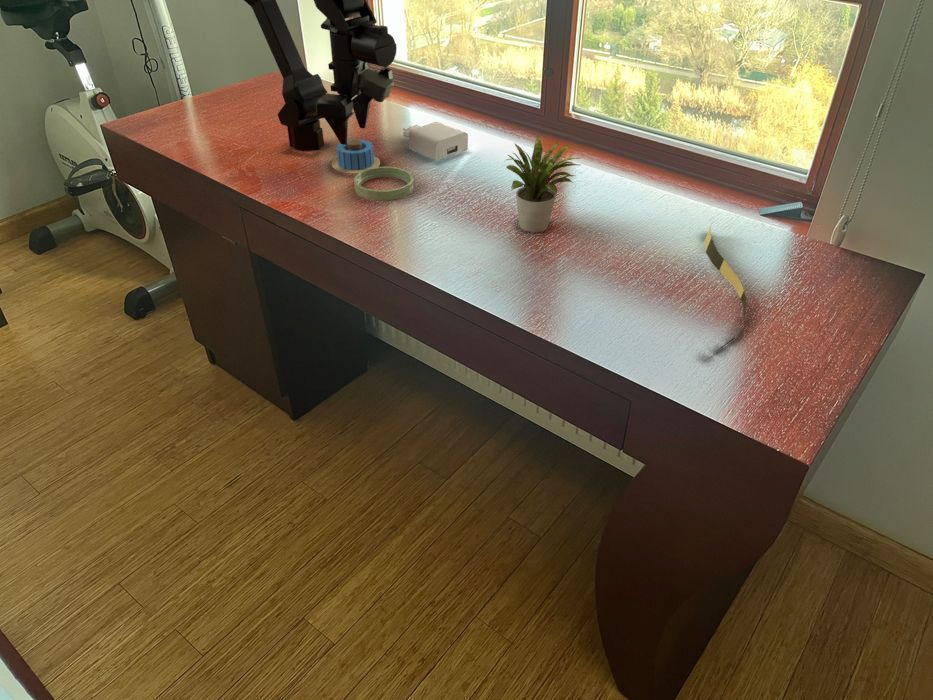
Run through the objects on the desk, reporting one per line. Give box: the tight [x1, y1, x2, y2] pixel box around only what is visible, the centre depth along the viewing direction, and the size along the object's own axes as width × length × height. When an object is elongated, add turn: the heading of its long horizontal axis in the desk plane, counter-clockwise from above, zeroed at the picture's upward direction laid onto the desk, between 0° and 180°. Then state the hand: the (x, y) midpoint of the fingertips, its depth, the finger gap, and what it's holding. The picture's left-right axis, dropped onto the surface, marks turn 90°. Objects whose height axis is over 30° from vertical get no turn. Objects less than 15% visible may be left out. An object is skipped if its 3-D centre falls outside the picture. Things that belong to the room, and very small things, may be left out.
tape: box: [703, 220, 748, 358], centre depth 116 cm, size 6×38×4 cm, turn 166°
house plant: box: [503, 134, 581, 233], centre depth 129 cm, size 14×14×16 cm
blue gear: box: [335, 139, 375, 170], centre depth 153 cm, size 7×7×4 cm
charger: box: [402, 121, 469, 162], centre depth 161 cm, size 5×9×15 cm
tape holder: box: [331, 139, 381, 174], centre depth 153 cm, size 10×10×5 cm
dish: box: [353, 166, 415, 202], centre depth 145 cm, size 11×11×3 cm
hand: (353, 136), depth 151 cm, fingers open, 9 cm apart
